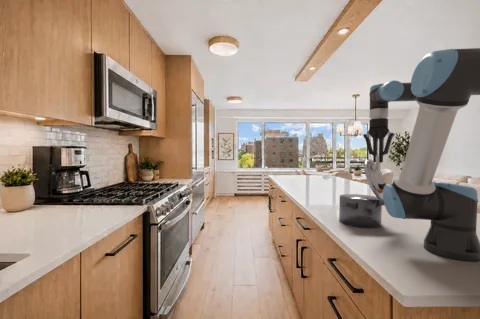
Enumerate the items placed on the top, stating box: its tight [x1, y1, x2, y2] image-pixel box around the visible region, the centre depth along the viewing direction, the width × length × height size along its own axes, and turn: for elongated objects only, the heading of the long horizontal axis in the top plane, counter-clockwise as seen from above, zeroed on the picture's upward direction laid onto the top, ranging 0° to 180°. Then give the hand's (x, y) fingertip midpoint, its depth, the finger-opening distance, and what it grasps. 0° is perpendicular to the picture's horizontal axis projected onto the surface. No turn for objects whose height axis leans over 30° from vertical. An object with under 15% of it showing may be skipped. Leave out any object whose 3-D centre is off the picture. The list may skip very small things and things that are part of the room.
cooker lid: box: [363, 158, 387, 200], centre depth 111 cm, size 19×19×4 cm
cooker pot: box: [338, 193, 385, 229], centre depth 116 cm, size 24×20×12 cm
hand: (378, 169), depth 114 cm, fingers closed
